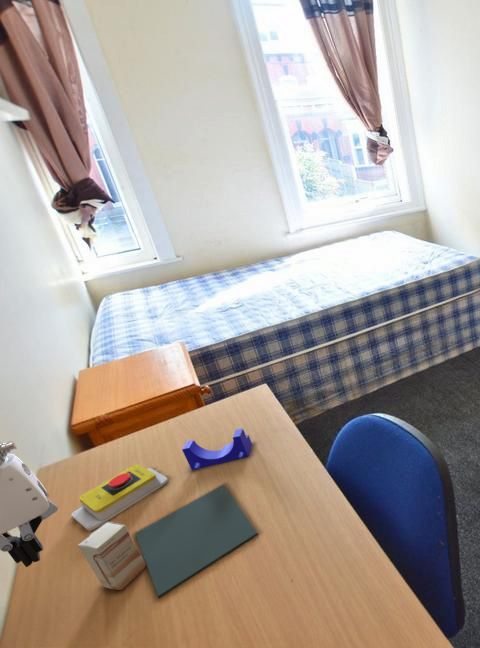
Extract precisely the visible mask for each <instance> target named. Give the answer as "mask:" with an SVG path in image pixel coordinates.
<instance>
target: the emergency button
mask: <svg viewBox="0 0 480 648" xmlns="http://www.w3.org/2000/svg"><path fill="white" fill-rule="evenodd" d="M168 482H169V479H168V478H167V477H166V476H165V475H163V474H161V473H160V472H159V471H156V470H155V469H153V468H151V467H148V468H146V467H145V466H143V465H141V464H140V463H136V464H134V465H132V466H130V467H128V468H127V469H125V470H123V471H121V472H119V473H117V474H115V475H114V476H113V477H111V478H108V479H107V480H105V481H103V482H102V483H100V484H99V485H97V486H95V487H94V488H92V489H90V490H88V491H86V492H85V493H83V494H82V495H80V496H79V497H78V499H79V502H80V503H81V505H82V506H80V507H79V508H77V509H76V510H74V511H73V512H72V513H71V517H72V519H73V520H75V521H76V522H77V523H78V524H79V525H81V526H82V527H83V528H84V529H85V530H87V531H89V532H90V531H94V530H96V529H98V528H100V527H101V526H102V525H103V524H105V523H106V522H109V520H111V519H113V518H115V517H116V516H118V515H119V514H121V513H122V512H124V511H125V510H127V509H128V508H130V507H132V506H133V505H135V504H137V503H138V502H140V501H141V500H143V499H144V498H146V497H147V496H149V495H151V494H153V493H154V492H156V491H157V490H159V489H160V488H161V487H163V486H165V485H166V484H167V483H168Z"/></svg>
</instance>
